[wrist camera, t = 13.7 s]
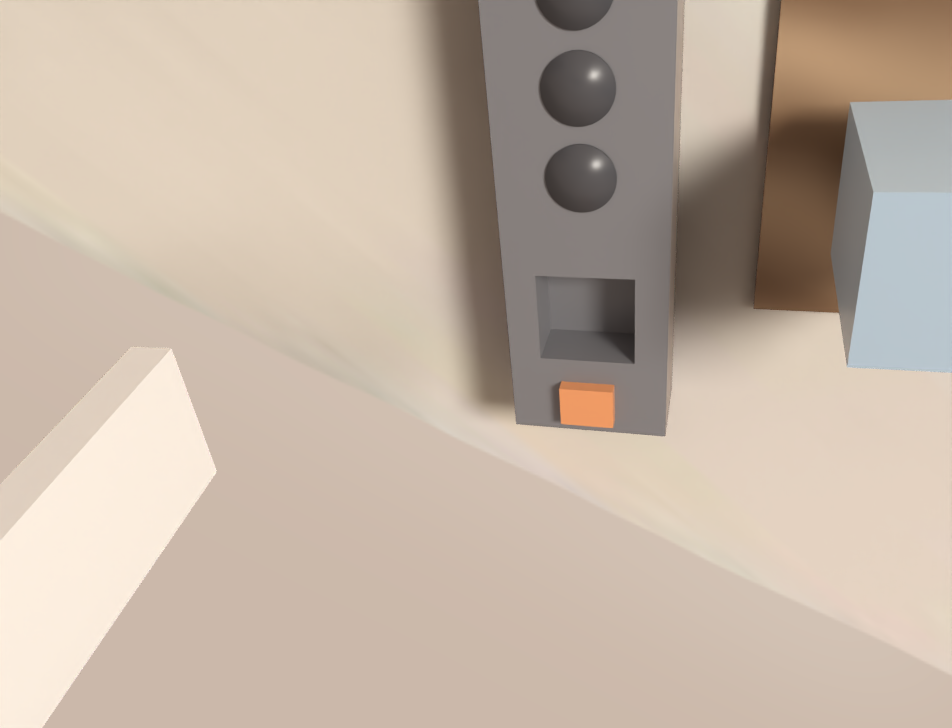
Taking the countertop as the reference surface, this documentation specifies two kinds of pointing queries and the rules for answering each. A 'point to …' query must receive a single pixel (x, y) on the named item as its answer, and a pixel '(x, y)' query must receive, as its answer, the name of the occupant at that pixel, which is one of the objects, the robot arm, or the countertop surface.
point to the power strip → (587, 204)
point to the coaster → (834, 124)
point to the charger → (896, 236)
